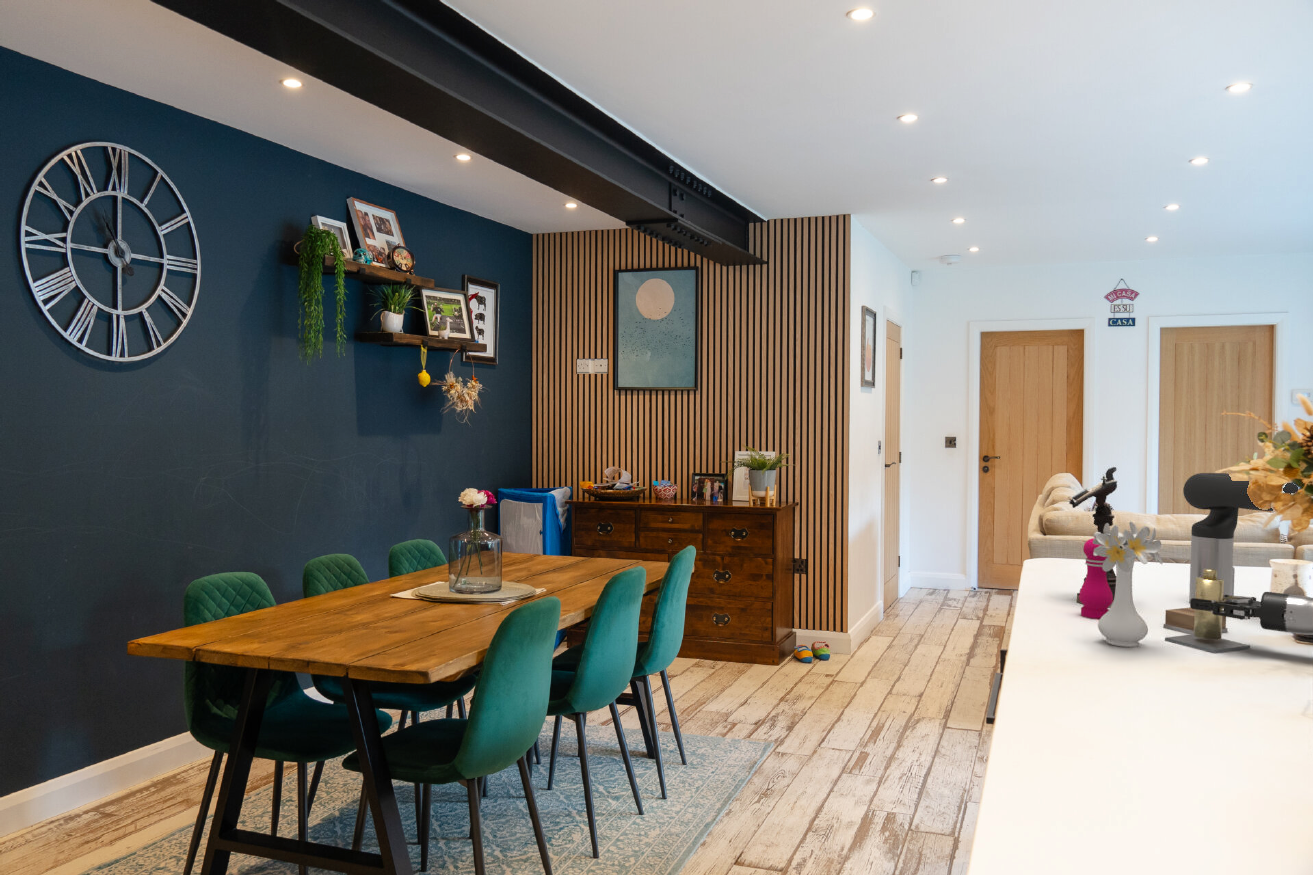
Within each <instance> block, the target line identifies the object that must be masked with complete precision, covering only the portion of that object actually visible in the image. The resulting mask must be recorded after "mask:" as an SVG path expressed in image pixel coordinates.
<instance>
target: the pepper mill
mask: <svg viewBox="0 0 1313 875" xmlns="http://www.w3.org/2000/svg"><path fill="white" fill-rule="evenodd" d="M1097 534H1100V532H1098V531H1096V532H1094V533H1093V538H1089V539H1088V540H1086V541H1085V543H1084V544H1083V548H1082V550H1083V553H1084V555H1085V556H1086V558H1085V562H1084V563H1085V565H1086V567H1087V568H1086V570H1087V571H1086V575H1087V577H1086V576H1085V577H1086V580H1085V582H1084V581H1083V583H1084V584H1082V585H1083V586H1082V585H1081V588H1080V589H1081V590H1080V589H1079V593H1080V594H1079V599H1080V601H1081V602H1082V605H1083V606H1082V607H1080V615H1081V617H1083V618H1089V619H1095V620H1100V618H1101V617H1102V616H1103V615H1104V614H1105V613H1107V612H1108V611H1109V609H1110V608H1108V607H1109V606H1110V605H1111V604H1112V602H1113V595H1112V592H1111V589H1110V587H1109V585H1108V582H1107V578H1106V571H1104V570H1103V568H1102V565H1103V563H1104V561H1105V559H1106V558H1107V557H1102V556H1099V555H1098V556H1094V555H1093V553H1094V549H1095V548H1097V547H1098V546H1100V545H1097V544H1093V540H1094V539H1095V538H1096V535H1097Z"/></svg>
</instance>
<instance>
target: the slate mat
mask: <svg viewBox="0 0 1313 875" xmlns="http://www.w3.org/2000/svg"><path fill="white" fill-rule="evenodd" d="M1164 641H1166V642H1170V643H1173V644H1177V645H1181V646H1184V647H1189V648H1193V649H1196V650H1200V651H1205V652H1207V653H1212V654H1218V653H1224V652H1233V651H1240V650H1247V649H1251V645H1250V644H1247V643H1242V642H1238V641H1234V640H1229V639H1225V638H1222V637H1221V639H1205V638H1200V637H1196V636H1194V634H1183V635H1174V636H1169V637H1168V636H1167V637H1164Z"/></svg>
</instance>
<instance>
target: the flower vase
mask: <svg viewBox="0 0 1313 875" xmlns="http://www.w3.org/2000/svg"><path fill="white" fill-rule="evenodd" d="M1128 524H1129V529H1130V531H1129V530H1127V529H1124V530H1123V531H1122V532H1123V533H1122V532H1119V530H1120V529H1119V526H1117V524H1113V525H1112V526H1109V524H1108V523H1106V524H1105V526H1104V530H1103V532H1104V534H1101V533H1100V534H1097V535H1096V538H1095V539H1094V540H1093V544H1097V545H1100V546H1098V547H1097V548H1095V549H1094V553H1093V555H1094V556H1098V555H1099V556H1102V557H1107V558H1106V559H1105V561H1104V563H1103V565H1102V568H1103V570H1104V571H1110V570H1111V569H1112V568H1113V569H1114V567H1115V569H1116V573H1115V575H1116V589H1115V597H1114V601H1113V604H1112V606H1111V608H1108V609H1109V611H1108V612H1107V613H1105V614H1104V615H1103V616H1102V617H1101V618H1100V619H1098V623H1097V628H1098V631H1099V633H1100V634H1101V635H1102V636H1104V638H1105V642H1106V643H1107V644H1109V645H1113V646H1115V647H1122V648H1136V647H1138V646H1139V644H1140V641H1141V640H1143V639H1144V638H1145V637H1146V636H1147V635H1148V632H1149V629H1148V625H1147V623H1146V621H1145V620H1144V619H1143V617H1142V616H1141V615H1140V614H1139V613H1138V611H1137V610H1136V607H1135V603H1134V599H1133V598H1134V597H1133V596H1134V595H1133V572H1134V570H1133V569H1134V566H1135V560H1136V558H1137V559H1138V561H1139V562H1140V563H1142V564H1143V565H1146V564H1148V562H1149V560H1148V556H1147V554H1149V555H1150V556H1151V557H1152V558H1153V559H1154V560H1155V562H1156V563H1159V564H1160V565H1163V559H1162V557H1161V555H1160V553H1159V551H1160V549H1161V548H1162V542H1161V540H1160V539H1156V536H1157V534H1156V533H1157V531H1156V528H1155V527H1154V528H1153V529H1152V532H1151V529H1150V527H1148V526H1143V527H1141V528H1139V530H1138V528H1137V526H1136V524H1135V523H1133V521H1129V523H1128ZM1111 527H1112V528H1111ZM1149 536H1150V537H1149ZM1148 537H1149V539H1148ZM1155 539H1156V540H1155Z"/></svg>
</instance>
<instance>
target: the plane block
mask: <svg viewBox="0 0 1313 875" xmlns="http://www.w3.org/2000/svg"><path fill="white" fill-rule="evenodd" d="M1194 614H1195V609H1191V607H1190V606H1189V607H1181V608H1173V609H1165V617H1164V618H1165V619H1164V620H1165V622H1164V623H1163V627H1162V628H1164V629H1167V630H1172V631H1175V632H1179V633H1184V634H1186V635H1191V634H1194ZM1222 633H1228V627H1227V617H1225V616H1222Z"/></svg>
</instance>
